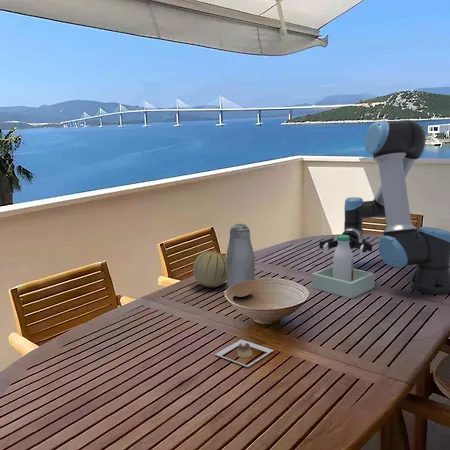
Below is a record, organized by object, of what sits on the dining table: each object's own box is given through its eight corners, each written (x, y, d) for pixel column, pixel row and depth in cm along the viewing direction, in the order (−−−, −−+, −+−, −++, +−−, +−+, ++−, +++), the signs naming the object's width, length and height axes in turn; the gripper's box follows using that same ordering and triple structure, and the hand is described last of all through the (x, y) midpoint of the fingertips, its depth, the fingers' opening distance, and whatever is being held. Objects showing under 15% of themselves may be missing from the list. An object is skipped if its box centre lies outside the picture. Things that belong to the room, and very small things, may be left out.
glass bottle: (245, 302, 174) (242, 228, 168) (222, 297, 180) (220, 225, 174) (259, 294, 181) (258, 223, 175) (238, 290, 187) (235, 220, 182)
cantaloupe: (188, 291, 188) (186, 254, 185) (201, 279, 202) (199, 245, 199) (224, 293, 184) (222, 256, 181) (234, 281, 197) (233, 246, 194)
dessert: (241, 342, 143) (240, 327, 142) (274, 353, 135) (273, 338, 134) (214, 357, 134) (213, 342, 133) (248, 370, 127) (247, 354, 126)
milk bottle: (348, 290, 180) (349, 239, 176) (329, 286, 185) (329, 236, 181) (356, 284, 186) (357, 234, 182) (337, 281, 191) (338, 232, 187)
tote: (374, 287, 184) (374, 273, 183) (351, 298, 174) (351, 283, 173) (335, 278, 197) (335, 264, 196) (311, 287, 187) (311, 273, 186)
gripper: (380, 249, 195) (376, 263, 176) (320, 245, 204) (309, 258, 185) (381, 231, 193) (376, 243, 174) (320, 228, 203) (309, 239, 183)
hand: (342, 251), depth 180 cm, fingers open, 13 cm apart
